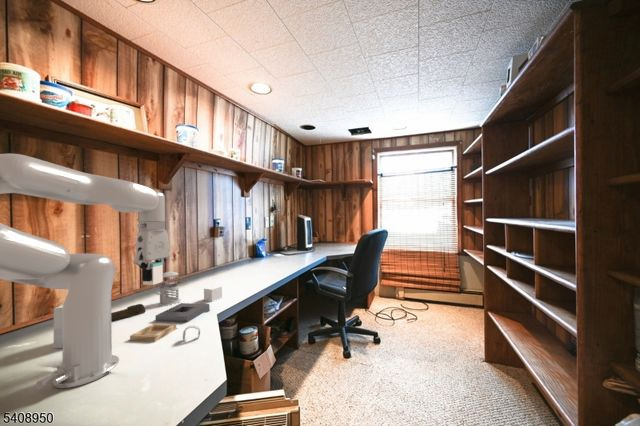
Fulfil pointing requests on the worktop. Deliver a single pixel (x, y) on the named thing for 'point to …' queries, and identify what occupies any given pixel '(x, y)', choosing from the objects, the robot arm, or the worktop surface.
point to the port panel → (182, 312)
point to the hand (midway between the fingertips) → (153, 278)
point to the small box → (58, 327)
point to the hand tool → (128, 312)
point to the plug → (155, 273)
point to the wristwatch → (190, 327)
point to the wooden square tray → (153, 332)
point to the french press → (165, 297)
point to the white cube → (212, 293)
